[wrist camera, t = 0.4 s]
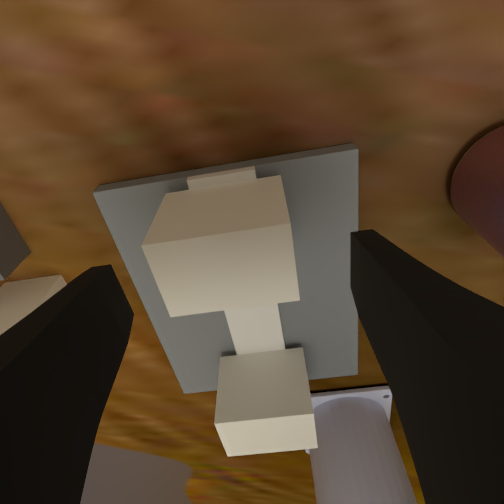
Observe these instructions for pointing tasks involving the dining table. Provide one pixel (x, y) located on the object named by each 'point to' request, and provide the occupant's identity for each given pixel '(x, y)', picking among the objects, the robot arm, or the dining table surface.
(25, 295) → the block
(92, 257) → the dining table surface
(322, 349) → the board
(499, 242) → the beverage can
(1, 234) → the block
